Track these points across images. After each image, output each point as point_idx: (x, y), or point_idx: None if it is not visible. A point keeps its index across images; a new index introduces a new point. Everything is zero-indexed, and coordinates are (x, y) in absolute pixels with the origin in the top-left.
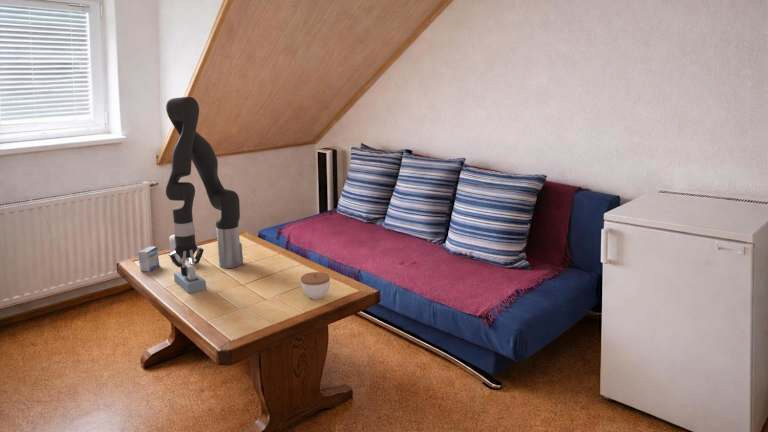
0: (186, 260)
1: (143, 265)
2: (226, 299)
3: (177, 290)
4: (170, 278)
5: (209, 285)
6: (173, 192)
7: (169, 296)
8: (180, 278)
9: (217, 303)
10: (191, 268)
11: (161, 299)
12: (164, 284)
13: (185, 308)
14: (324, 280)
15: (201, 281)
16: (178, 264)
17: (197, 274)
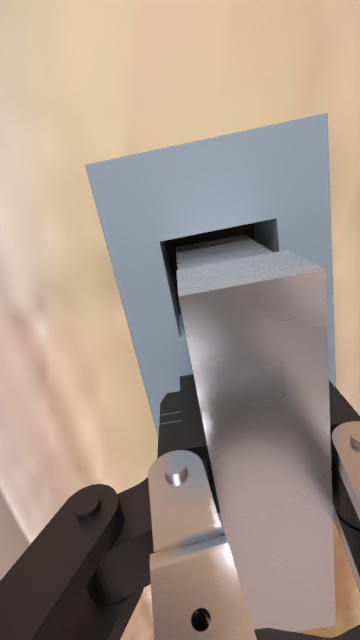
0: (317, 303)
1: None
2: (354, 612)
3: (116, 403)
4: (66, 51)
5: (354, 406)
6: None
7: (57, 477)
8: (146, 389)
9: (296, 632)
10: (279, 620)
11: (6, 499)
12: (8, 221)
13: (137, 630)
14: None
15: None
16: (110, 613)
17: (333, 353)
